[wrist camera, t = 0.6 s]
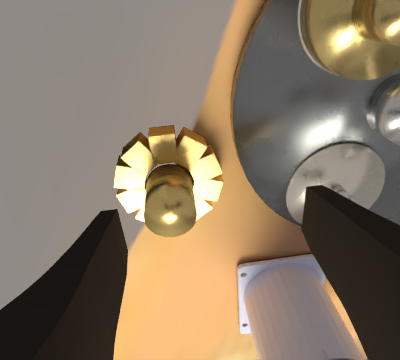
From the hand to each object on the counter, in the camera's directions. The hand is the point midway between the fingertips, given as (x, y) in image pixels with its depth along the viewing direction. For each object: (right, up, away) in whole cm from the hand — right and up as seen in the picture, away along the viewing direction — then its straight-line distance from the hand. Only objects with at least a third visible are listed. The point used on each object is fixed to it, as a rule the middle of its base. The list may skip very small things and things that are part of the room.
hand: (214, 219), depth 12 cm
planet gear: (-3, +2, +10) cm, 11 cm away
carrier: (+12, +7, +9) cm, 16 cm away
